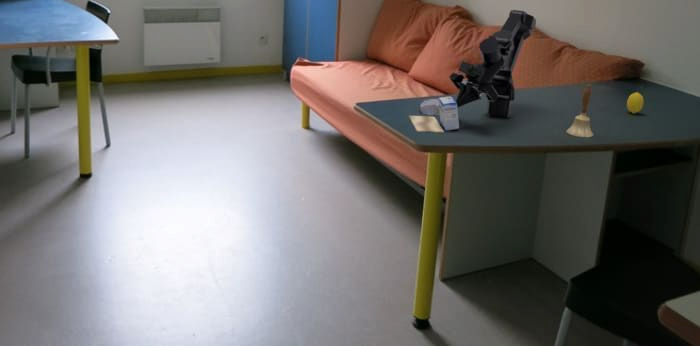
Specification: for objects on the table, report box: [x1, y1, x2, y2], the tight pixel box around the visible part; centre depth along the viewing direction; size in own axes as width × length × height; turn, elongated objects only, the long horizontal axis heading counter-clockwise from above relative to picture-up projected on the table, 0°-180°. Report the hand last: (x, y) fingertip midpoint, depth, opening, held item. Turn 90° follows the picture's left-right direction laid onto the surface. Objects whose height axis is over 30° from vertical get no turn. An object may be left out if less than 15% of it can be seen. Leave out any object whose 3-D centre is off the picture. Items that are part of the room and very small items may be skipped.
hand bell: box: [565, 84, 594, 139], centre depth 230 cm, size 8×8×16 cm
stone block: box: [419, 98, 440, 117], centre depth 247 cm, size 12×5×10 cm
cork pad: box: [408, 115, 445, 134], centre depth 231 cm, size 8×17×1 cm, turn 4°
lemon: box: [626, 91, 645, 115], centre depth 261 cm, size 6×6×8 cm
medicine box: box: [438, 96, 460, 131], centre depth 228 cm, size 8×4×9 cm, turn 5°
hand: (455, 106), depth 228 cm, fingers closed
